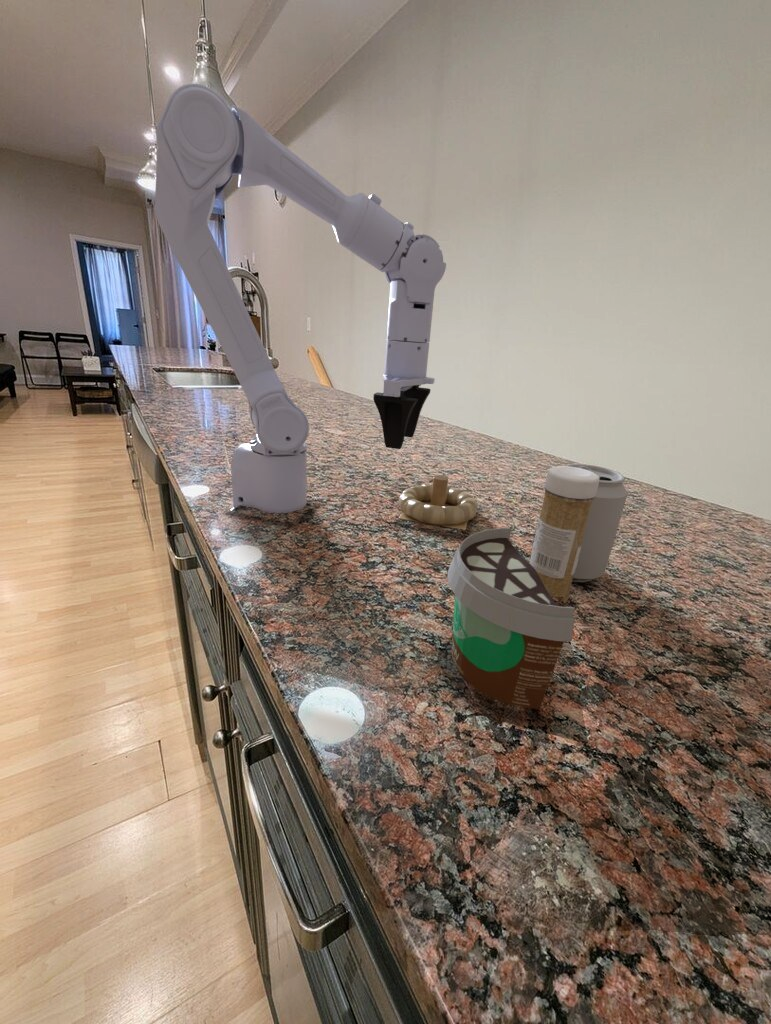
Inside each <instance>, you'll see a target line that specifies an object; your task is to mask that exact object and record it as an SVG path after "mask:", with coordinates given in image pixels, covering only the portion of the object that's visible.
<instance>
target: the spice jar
mask: <svg viewBox="0 0 771 1024" xmlns="http://www.w3.org/2000/svg"><path fill="white" fill-rule="evenodd" d="M598 485H599V476H598V475H597V474H595V473H593V472H591V471H588V470H585V469H581V468H576V467H569V466H565V465H556V466H553V467H552V466H551V467H550V468H549V469H548V470H547V472H546V478H545V482H544V496H543V501H542V505H541V510H540V514H539V517H538V521H537V525H536V531H535V535H534V539H533V544H532V549H531V554H530V557H529V558H530V559H529V563H530V564H531V565H532V566H533V567H534V569H535V570H536V572H537V574H538V575H539V577H540V579H541V581H542V582H543V584H544V586H545V588H546V590H547V591H548V593H549V594H550V596H551V597H552V598H561V597H562V601H563V604H564V605H565V604H566V603H567V602H568V600H569V599H570V590H571V586H572V584H573V583H572V582H573V581H572V578H573V575H574V573H575V570H576V566H577V562H578V559H579V554H580V550H581V543H582V539H583V535H584V531H585V527H586V524H587V520H588V516H589V511H590V506H591V502H592V501H593V499H594V497H595V496H596V493H597V489H598Z"/></svg>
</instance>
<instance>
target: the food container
mask: <svg viewBox="0 0 771 1024" xmlns="http://www.w3.org/2000/svg"><path fill="white" fill-rule="evenodd" d="M511 530H512V528H510V527H500V528H491V529H483V530H481V531H476V532H475V533H472V534H470V535H468V536H467V537H466V538H464V540H462V542H461V543H460V545H459V546H458V547H457V549H456V550H455V552H454V555H453V557H452V560H451V563H450V565H449V568H448V570H447V583H448V585H449V588H450V589H451V591H452V593H453V594H454V602H453V603H454V605H453V619H452V637H451V653H450V654H451V659H452V662H453V664H454V667H455V669H456V670H457V672H458V673H459V675H460V676H461V677H462V678H463V679H464V681H465V682H467V683H468V684H469V685H470V686H472V688H474V689H476V690H477V691H478V692H480V693H482V694H483V695H485V696H487V697H489V698H490V699H492V700H496V701H497V702H500V703H503V704H505V705H510V706H513V707H518V708H525V709H539V710H540V709H541V706H542V704H543V701H544V698H545V695H546V693H547V690H548V687H549V684H550V682H551V679H552V676H553V673H554V671H555V667H556V665H557V662H558V659H559V656H560V653H561V651H562V648H563V645H564V642H570V643H571V642H572V640H573V635H574V634H573V633H574V627H575V619H574V615H575V610H576V608H575V606H574V607H573V606H559V605H558V604H557V603H556V601H555V600H554V598H553V597H551V596H550V594H549V593H548V591H547V590H546V588H545V586H544V584H543V582H542V581H541V579H540V577H539V575H538V574H537V572H536V570H535V569H534V567H533V566H532V565H531V564H530V561H528V560H526V559H525V558H524V557H523V555H521V554H520V553H519V551H517V549H516V548H515V546H514V545H513V544H512V542H511V541H510V537H511Z"/></svg>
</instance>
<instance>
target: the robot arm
mask: <svg viewBox="0 0 771 1024" xmlns="http://www.w3.org/2000/svg"><path fill="white" fill-rule="evenodd" d="M155 169H156V172H155V192H154V215H155V217H156V220H157V223H158V225H159V227H160V229H161V231H162V233H163V235H164V237H165V239H166V241H167V243H168V245H169V247H170V249H171V251H172V253H173V255H174V257H175V259H176V261H177V262H178V265H179V267H180V268H181V270H182V272H183V274H184V276H185V278H186V281H187V282H188V284H189V286H190V288H191V290H192V292H193V294H194V297H195V298H196V300H197V303H198V304H199V306H200V308H201V310H202V311H203V314H204V316H205V317H206V320H207V322H208V324H209V326H210V327H211V330H212V331H213V333H214V336H215V337H216V339H217V341H218V343H219V345H220V348H221V350H222V351H223V353H224V355H225V357H226V359H227V361H228V363H229V365H230V367H231V369H232V371H233V373H234V375H235V377H236V378H237V381H238V383H239V385H240V387H241V388H242V390H243V393H244V394H245V396H246V398H247V400H248V402H249V415H250V420H251V424H252V425H253V427H254V428H255V433H256V435H255V436H254V438H253V439H252V440H250V443H241V444H240V445H239V446H238V447H236V449H235V450H234V451H233V452H234V453H233V455H232V458H231V462H230V475H231V489H232V504H233V507H232V508H230V511H233V510H234V509H237V508H238V507H239V506H243V507H249V508H254V509H256V510H259V511H262V512H266V513H271V514H272V513H273V514H284V513H285V514H286V513H293V512H296V511H299V510H302V509H304V508H305V507H306V506H307V504H308V502H307V500H308V497H307V496H308V493H307V492H308V491H307V489H308V487H307V486H308V484H307V483H308V482H307V481H308V476H307V474H308V473H307V471H308V470H307V469H308V468H307V464H308V463H307V462H308V461H307V459H308V458H307V455H308V454H307V452H308V451H307V448H308V447H307V443H306V441H307V439H308V437H309V432H310V423H309V419H308V417H307V416H306V413H305V412H304V411H303V410H302V408H300V407H299V406H298V405H297V404H296V403H295V402H294V401H293V399H292V398H291V397H290V396H289V395H288V392H287V390H286V388H285V386H284V385H283V383H282V381H281V379H280V377H279V375H278V373H277V372H276V369H275V368H274V365H273V364H272V361H271V359H270V357H269V355H268V353H267V350H266V348H265V345H264V344H263V342H262V340H261V337H260V335H259V333H258V330H257V329H256V327H255V325H254V323H253V320H252V318H251V315H250V314H249V312H248V309H247V307H246V305H245V303H244V300H243V299H242V297H241V293H240V292H239V290H238V288H237V286H236V283H235V282H234V279H233V277H232V275H231V273H230V271H229V268H228V267H227V266H228V265H227V263H226V262H225V260H224V257H223V255H222V253H221V251H220V249H219V246H218V245H217V242H216V239H215V237H214V235H213V233H212V231H211V228H210V227H209V221H210V219H211V216H212V213H213V210H214V207H215V204H216V199H218V197H220V195H221V194H222V193H223V191H224V190H225V189H226V188H227V187H228V185H229V184H230V183H231V181H232V179H233V177H234V175H237V176H238V178H237V179H238V180H237V187H238V188H248V187H259V186H267V187H270V188H271V189H273V190H275V191H277V192H278V193H279V194H281V195H283V196H284V197H285V198H287V199H289V200H291V201H292V202H294V203H296V204H297V205H298V206H300V207H302V208H304V209H305V210H307V211H308V212H310V213H312V214H314V215H315V216H317V217H318V218H320V219H322V220H323V221H325V222H327V223H328V224H330V225H331V226H332V228H333V231H334V234H335V238H336V241H337V243H338V244H339V245H341V246H342V247H343V248H345V249H346V250H348V251H350V252H351V253H352V254H354V255H355V256H357V257H359V258H360V259H361V260H363V261H364V262H366V263H368V264H369V265H370V266H371V267H373V268H375V269H376V270H378V271H379V272H381V273H384V276H385V278H386V280H387V282H388V283H389V285H390V286H389V287H390V288H389V302H388V314H387V329H386V333H387V334H386V344H385V358H384V359H385V362H384V373H383V374H382V381H383V390H382V391H383V392H378V391H377V392H375V393H373V396H372V397H373V402H374V404H375V407H376V409H377V411H378V414H379V418H380V421H381V427H382V434H383V441H384V446H385V448H388V449H395V450H401V449H402V447H403V445H404V441H405V438H413V437H414V435H415V432H416V429H417V426H418V421H419V418H420V415H421V412H422V409H423V407H424V405H425V403H426V401H427V399H428V397H429V395H430V394H431V388H429V387H422V385H434V384H435V381H436V379H435V377H430V376H427V374H428V373H427V372H428V362H429V352H430V342H431V331H432V322H433V321H432V320H433V310H434V299H435V291H436V287H437V286H438V284H439V283H440V281H441V280H442V279H443V277H444V276H445V275H444V274H445V272H446V269H447V263H446V262H445V261H444V255H443V251H442V249H440V248H441V246H440V245H439V243H438V242H437V241H436V240H435V238H433V237H432V236H430V235H428V234H416V235H415V232H414V229H415V226H414V224H412V223H410V222H409V221H406V222H403V221H401V220H400V219H399V218H397V217H396V216H394V215H393V214H392V213H391V212H389V211H388V210H386V209H385V208H384V207H382V206H381V203H382V199H381V198H380V197H379V196H378V195H376V194H375V193H371V194H370V195H369V196H367V195H366V194H365V193H364V192H357V193H355V194H351V195H346V194H345V193H344V192H343V191H341V190H340V189H339V188H337V187H336V186H335V185H334V184H333V183H331V182H330V181H329V180H328V179H326V178H325V177H324V176H323V175H321V174H320V173H319V172H318V171H317V170H316V169H314V168H313V167H312V166H310V165H309V164H308V163H306V162H305V161H304V160H303V159H301V157H299V156H298V155H297V154H295V153H294V152H293V151H292V150H291V149H290V148H288V147H287V146H286V145H285V144H283V143H282V142H280V141H279V139H277V138H276V137H275V136H273V135H272V134H271V133H270V132H269V131H268V130H266V129H265V128H264V127H263V126H262V125H261V124H260V123H259V122H258V121H257V120H255V118H254V117H252V115H250V113H248V112H247V111H246V110H244V109H243V108H240V107H239V106H237V105H235V104H231V107H230V105H229V104H228V102H226V100H225V99H224V98H223V97H222V96H221V95H220V94H219V93H218V92H216V91H215V90H214V89H212V88H210V87H209V86H207V85H203V84H200V83H199V84H198V83H187V84H183V85H181V86H179V87H178V88H177V89H175V90H174V91H173V92H172V94H170V96H169V98H168V99H167V102H166V105H165V107H164V110H163V112H162V114H161V116H160V119H159V120H158V122H157V126H156V167H155Z"/></svg>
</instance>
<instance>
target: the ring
mask: <svg viewBox="0 0 771 1024" xmlns="http://www.w3.org/2000/svg"><path fill="white" fill-rule="evenodd" d="M432 487H433V484H417V485H415V486H411V487H407V488H405V489H404V490H403V491H402V493H401V494H400V495H399V497H398V501H397V503H398V506H399V507H400V509H401V510H402V512H404V513H405V514H406V515H408V516H410V517H412V518H414V519H417V520H419V521H421V522H420V523H422V522H426V523H425V524H428V523H432V524H431V525H434V524H438V525H437V526H440V525H452V524H461V523H463V522H466V521H468V522H469V521H470V520H473V519H474V518H475V517H476V515H477V513H478V512H477V511H478V508H479V503H478V501H477V500H476V499H475V498H474V497H473V496H472V495H471V494H470V493H468V492H467V491H465V490H461V489H459V488H455V487H453V486H448V485H447V493H446V501H445V503H449V504H452V505H454V506H443V507H441V506H435V505H429V504H425V503H423V502H421V501H431V496H432Z"/></svg>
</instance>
